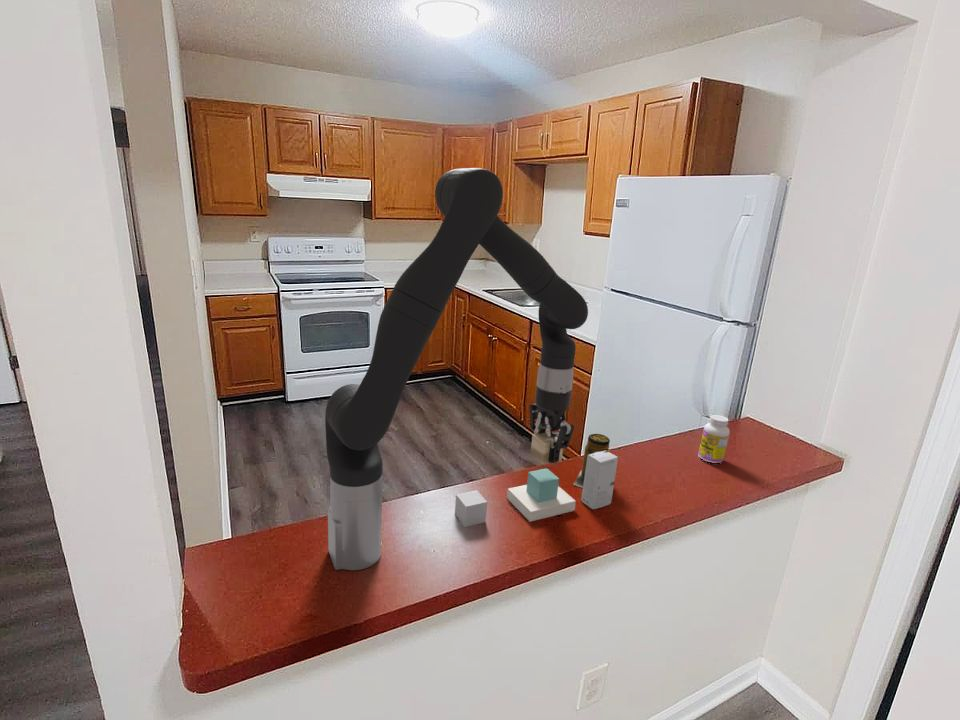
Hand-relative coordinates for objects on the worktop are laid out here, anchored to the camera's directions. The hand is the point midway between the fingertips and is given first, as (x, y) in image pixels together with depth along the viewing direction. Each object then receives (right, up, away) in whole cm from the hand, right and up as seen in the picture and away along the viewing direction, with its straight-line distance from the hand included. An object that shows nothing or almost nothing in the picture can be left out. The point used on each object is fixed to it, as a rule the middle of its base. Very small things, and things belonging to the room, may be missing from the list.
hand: (546, 456), depth 117 cm
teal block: (-1, -9, +3) cm, 10 cm away
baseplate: (-1, -12, +4) cm, 12 cm away
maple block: (0, -1, 0) cm, 0 cm away
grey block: (-17, -13, -3) cm, 21 cm away
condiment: (+13, -10, +15) cm, 22 cm away
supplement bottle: (+51, -7, +32) cm, 60 cm away
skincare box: (+12, -12, +6) cm, 19 cm away
